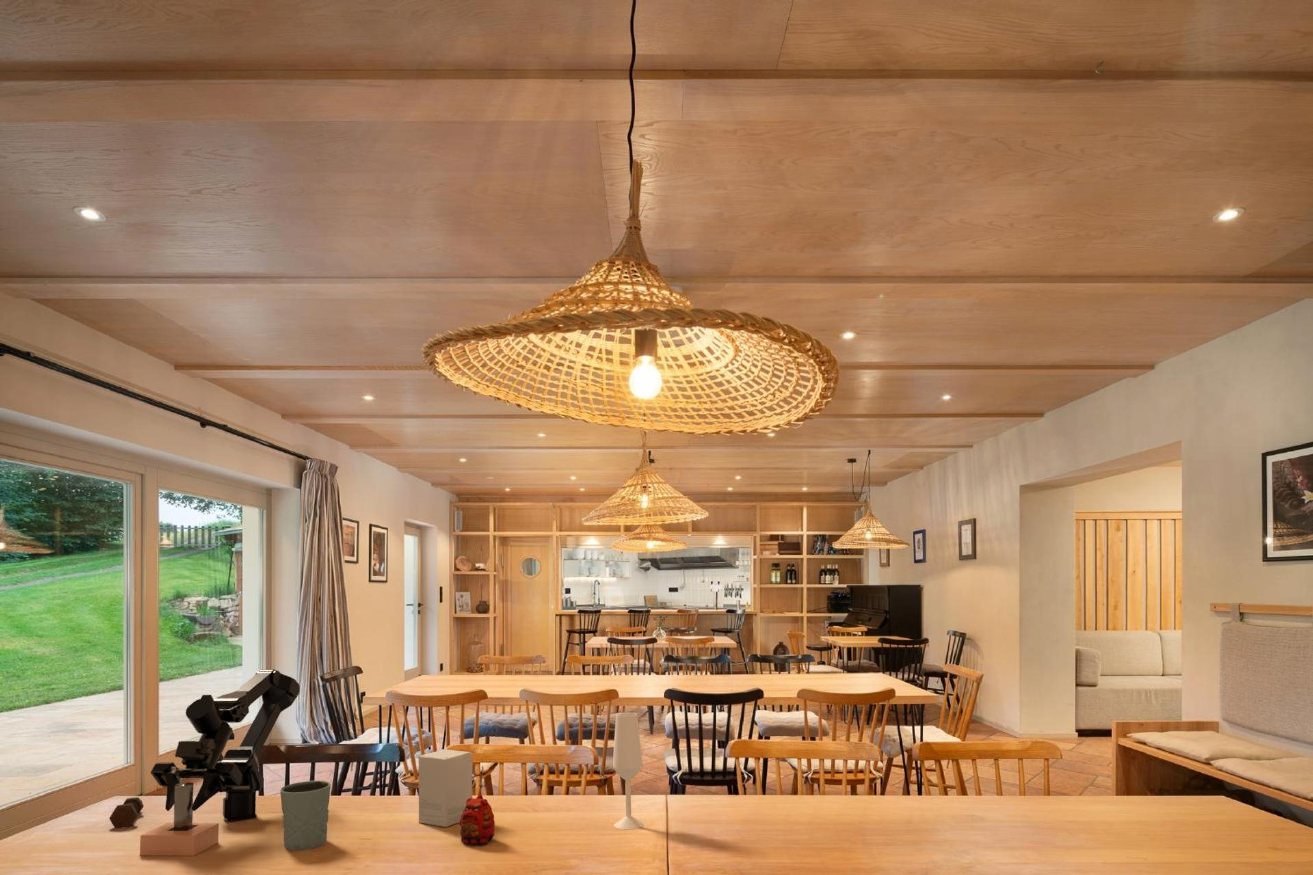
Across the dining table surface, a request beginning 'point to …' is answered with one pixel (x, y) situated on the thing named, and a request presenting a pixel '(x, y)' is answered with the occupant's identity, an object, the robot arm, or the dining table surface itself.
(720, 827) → the dining table surface
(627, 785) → the champagne flute
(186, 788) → the peg
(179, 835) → the socket block
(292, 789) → the green cup
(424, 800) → the supplement box
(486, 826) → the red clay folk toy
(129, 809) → the bolt
